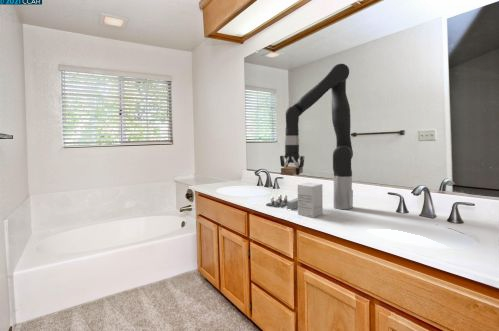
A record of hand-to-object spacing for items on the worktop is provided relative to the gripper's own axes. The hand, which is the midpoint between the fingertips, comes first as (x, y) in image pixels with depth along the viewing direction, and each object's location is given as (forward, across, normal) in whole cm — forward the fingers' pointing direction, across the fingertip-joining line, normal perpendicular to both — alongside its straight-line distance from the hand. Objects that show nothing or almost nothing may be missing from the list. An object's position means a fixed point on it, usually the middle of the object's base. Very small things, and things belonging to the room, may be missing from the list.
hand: (291, 174), depth 151 cm
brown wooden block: (-1, 0, 0) cm, 1 cm away
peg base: (+18, +9, -1) cm, 20 cm away
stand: (+18, -2, 0) cm, 18 cm away
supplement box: (+18, -15, +11) cm, 26 cm away
